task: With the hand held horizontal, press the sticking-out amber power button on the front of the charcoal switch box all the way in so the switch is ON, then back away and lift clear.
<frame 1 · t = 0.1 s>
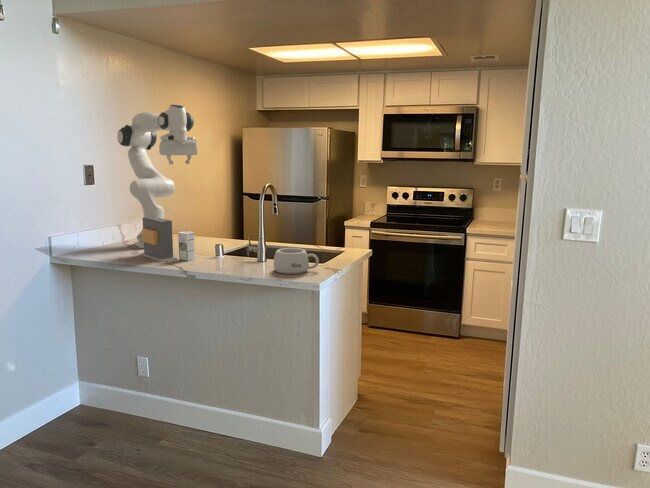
hand: (179, 164, 274), 48 cm above the countertop, tool pointing down, fingers open, 8 cm apart
switch button: (150, 236, 270), point 11 cm above the countertop, slide at 0.0 cm
mug: (296, 271, 249), on the countertop
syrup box: (187, 260, 270), on the countertop
switch box: (158, 257, 275), on the countertop
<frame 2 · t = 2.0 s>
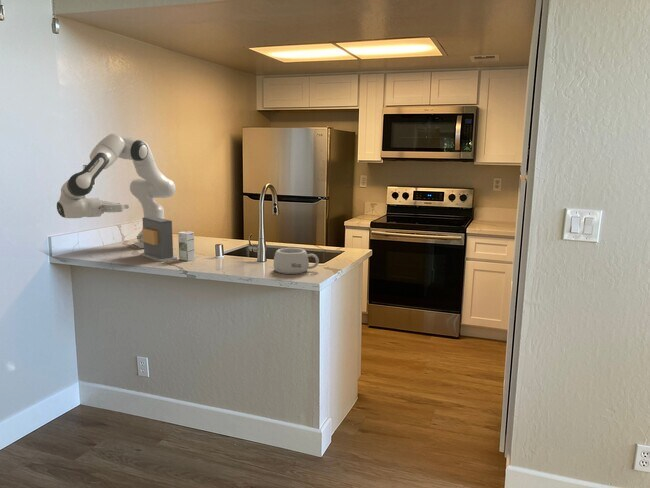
hand: (123, 205, 258), 28 cm above the countertop, tool horizontal, fingers open, 8 cm apart
nothing on the countertop moved.
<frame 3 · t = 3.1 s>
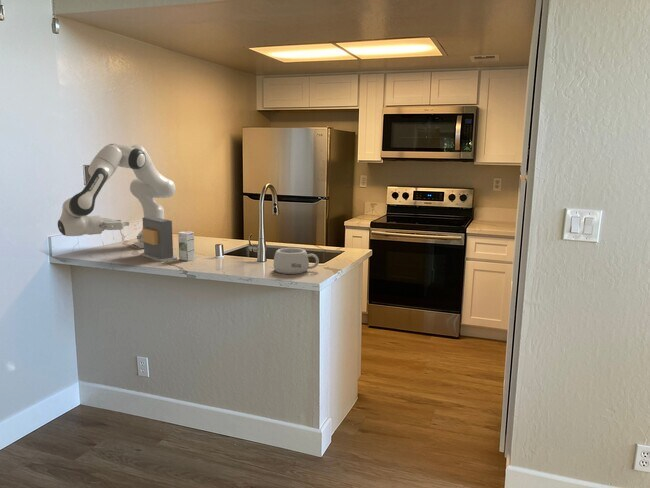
hand: (124, 222, 259), 20 cm above the countertop, tool horizontal, fingers open, 8 cm apart
nothing on the countertop moved.
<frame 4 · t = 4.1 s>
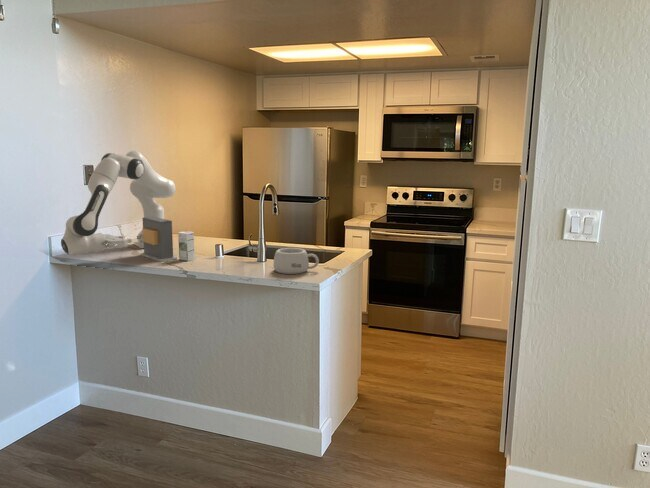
hand: (126, 239, 261), 11 cm above the countertop, tool horizontal, fingers open, 8 cm apart
nothing on the countertop moved.
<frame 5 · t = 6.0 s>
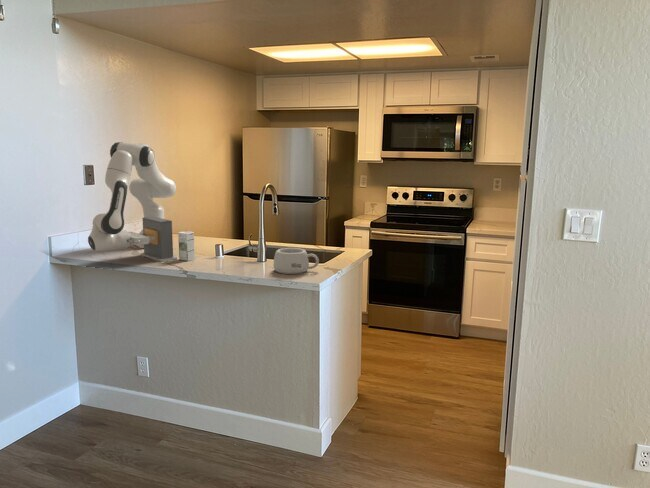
hand: (149, 236, 270), 11 cm above the countertop, tool horizontal, fingers open, 8 cm apart
switch button: (152, 236, 271), point 11 cm above the countertop, slide at 1.0 cm, touching gripper
everything else where it was.
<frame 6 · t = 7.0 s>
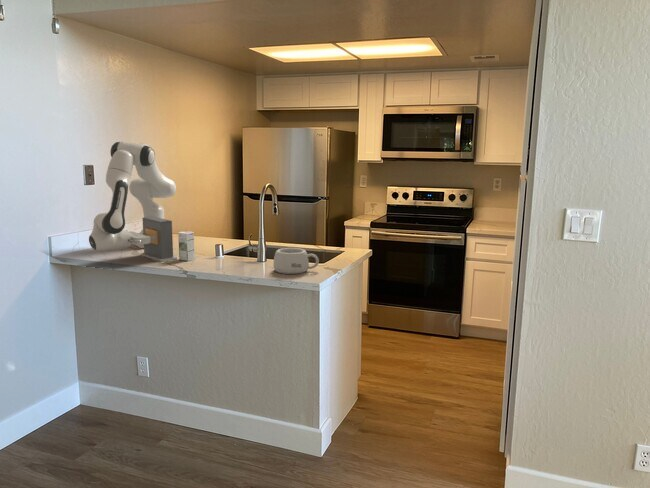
hand: (150, 236, 270), 12 cm above the countertop, tool horizontal, fingers open, 8 cm apart
switch button: (153, 235, 271), point 11 cm above the countertop, slide at 1.6 cm
everything else where it was.
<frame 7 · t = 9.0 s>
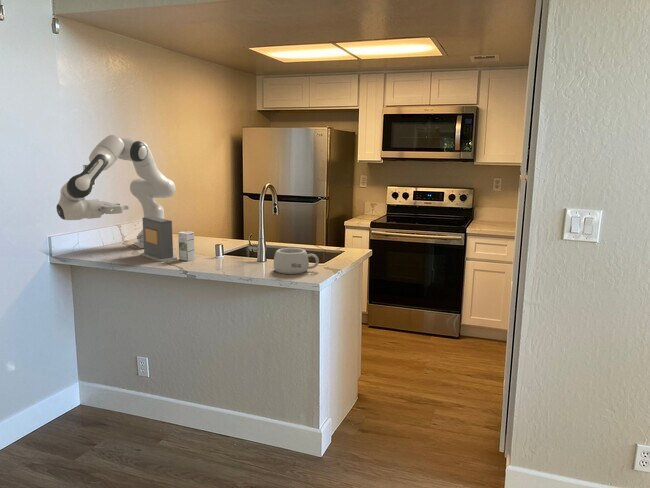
hand: (123, 206, 258), 28 cm above the countertop, tool horizontal, fingers open, 8 cm apart
nothing on the countertop moved.
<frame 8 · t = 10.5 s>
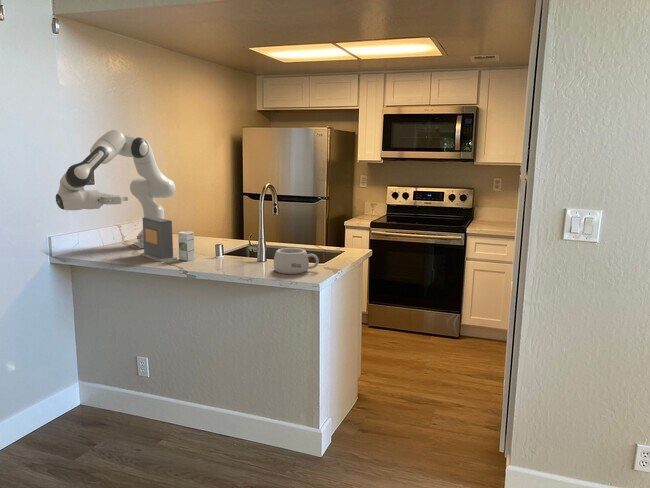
hand: (123, 197, 257), 32 cm above the countertop, tool horizontal, fingers open, 8 cm apart
nothing on the countertop moved.
at the end: switch button slide at 1.6 cm; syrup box moved 0.2 cm from its start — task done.
